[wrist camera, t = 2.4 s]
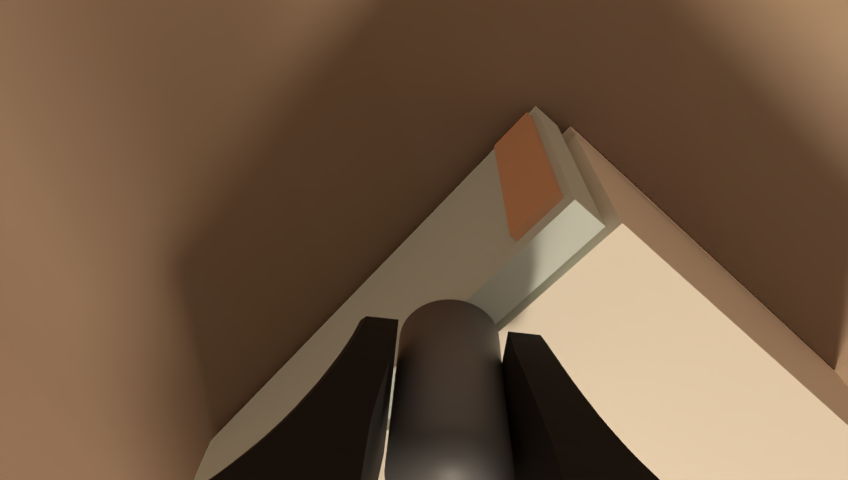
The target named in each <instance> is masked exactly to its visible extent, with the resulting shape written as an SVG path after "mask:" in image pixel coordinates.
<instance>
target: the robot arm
mask: <svg viewBox="0 0 848 480" xmlns="http://www.w3.org/2000/svg"><path fill="white" fill-rule="evenodd" d="M398 321H399V320H398V319H389V318H380V317H370V316H366V317H364V318H363V319H361V320H360V321H359V323H358V326H357V328H356V329H355V331H354V333H353V335H352V336H351V338H350V339H349V341H348V342H347V344H346V345H345V347H344V348H343V350H342V351H341V353H340V354H339V355H338V357H337V358H336V359H335V361H334V362H333V363H332V365H331V366H330V367H329V368H328V370H327V371H326V372H325V374H324V375H323V376H322V377H321V379H320V380H319V381H318V382H317V383H316V385H315V386H314V387H313V388H312V389H311V390H310V391H309V392H308V393H307V394H306V396H305V397H304V398H303V399H302V400H301V401H300V402H299V403H298V404H297V405H296V407H295V408H294V409H293V410H292V411H291V412H290V413H289V414H288V415H287V416H286V417H285V418H284V419H283V420H282V421H281V422H279V423H278V424H277V425H276V426H275V427H274V428H273V429H272V430H271V431H270V432H269V433H267V434H266V435H265V436H264V437H263V438H262V439H261V440H260V441H258V442H257V443H256V444H255V445H254V446H252V447H251V448H250V449H249V450H247V451H246V452H245V453H244V454H242V455H241V456H240V457H239V458H237V459H236V460H235V461H234V462H232V463H231V464H230V465H228V466H227V467H226V468H224V469H223V470H222V471H220V472H219V473H217V474H216V475H215V476H213V477H212V478H210V479H209V480H378V478H379V473H380V469H381V464H382V460H383V455H384V448H385V440H386V431H387V423H388V414H389V405H390V396H391V387H392V377H393V368H394V359H395V349H396V340H397V331H398ZM502 368H503V376H504V385H505V394H506V403H507V411H508V420H509V429H510V438H511V446H512V455H513V464H514V473H515V474H514V480H660V479H659V478H658V477H657V476H656V475H654V474H653V473H652V472H651V471H650V470H649V469H648V468H647V467H646V466H645V465H644V464H643V463H642V462H641V461H640V460H639V459H638V458H637V457H636V456H635V455H634V454H633V453H632V452H631V451H630V450H629V449H628V448H627V447H626V445H625V444H624V443H623V442H622V441H621V440H620V439H619V438H618V436H617V435H616V434H615V433H614V432H613V431H612V430H611V429H610V427H609V426H608V425H607V424H606V423H605V422H604V420H603V419H602V418H601V417H600V416H599V414H598V413H597V412H596V410H595V409H594V408H593V407H592V405H591V404H590V403H589V401H588V400H587V399H586V398H585V396H584V395H583V394H582V392H581V391H580V390H579V388H578V387H577V386H576V384H575V383H574V382H573V380H572V379H571V377H570V376H569V375H568V373H567V372H566V370H565V369H564V368H563V366H562V365H561V363H560V362H559V360H558V359H557V357H556V356H555V355H554V353H553V352H552V350H551V349H550V347H549V346H548V344H547V343H546V342H545V340H544V339H543V338H542V336H541V335H536V334H527V333H518V332H509V331H508V335H507V340H506V345H505V350H504V355H503V360H502Z"/></svg>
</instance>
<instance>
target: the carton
mask: <svg viewBox="0 0 848 480" xmlns="http://www.w3.org/2000/svg"><path fill="white" fill-rule="evenodd" d="M562 136H563V138H564V141H565V143H566V145H567V147H568V149H569V151H570V153H571V155H572V157H573V159H574V161H575V164H576V166H577V168H578V170H579V172H580V174H581V176H582V178H583V180H584V182H585V184H586V187H587V189H588V191H589V193H590V195H591V197H592V199H593V201H594V203H595V205H596V207H597V210H598V212H599V214H600V216H601V218H602V220H603V222H604V224H605V227H604V228H603V229H602V230H601V231H600V232H599V233H598V234H597V235H595V236H594V237H593V238H592V239H591V240H590V241H589V242H588V243H586V244H585V245H584V246H583V247H582V248H581V249H580V250H579V251H577V252H576V253H575V254H574V255H573V256H572V257H571V258H570V259H569V260H567V261H566V262H565V263H564V264H563V265H562V266H561V267H560V268H558V269H557V270H556V271H555V272H554V273H553V274H552V275H551V276H549V277H548V278H547V279H546V280H545V281H544V282H543V283H542V284H541V285H539V286H538V287H537V288H536V289H535V290H534V291H533V292H532V293H530V294H529V295H528V296H527V297H526V298H525V299H524V300H523V301H521V302H520V303H519V304H518V305H517V306H516V307H515V308H514V309H512V310H511V311H510V312H509V313H508V314H507V315H506V316H505V317H504V318H502V319H501V320H500V321H499V322H498V323H497V324H496V327H497V330H498V333H499V341H500V350H501V359H502V360H503V355H504V350H505V345H506V340H507V335H508V331H509V332H518V333H527V334H536V335H541V336H542V338H543V339H544V340H545V342H546V343H547V344H548V346H549V347H550V349H551V350H552V352H553V353H554V355H555V356H556V357H557V359H558V360H559V362H560V363H561V365H562V366H563V368H564V369H565V370H566V372H567V373H568V375H569V376H570V377H571V379H572V380H573V382H574V383H575V384H576V386H577V387H578V388H579V390H580V391H581V392H582V394H583V395H584V396H585V398H586V399H587V400H588V401H589V403H590V404H591V405H592V407H593V408H594V409H595V410H596V412H597V413H598V414H599V416H600V417H601V418H602V419H603V420H604V422H605V423H606V424H607V425H608V426H609V427H610V429H611V430H612V431H613V432H614V433H615V434H616V435H617V436H618V438H619V439H620V440H621V441H622V442H623V443H624V444H625V445H626V447H627V448H628V449H629V450H630V451H631V452H632V453H633V454H634V455H635V456H636V457H637V458H638V459H639V460H640V461H641V462H642V463H643V464H644V465H645V466H646V467H647V468H648V469H649V470H650V471H651V472H652V473H653V474H654V475H656V476H657V477H658V478H659V479H660V480H848V386H847V385H846V384H845V383H844V382H843V380H842V379H841V378H840V377H839V375H838V374H837V373H836V372H835V371H834V370H833V369H832V368H831V367H830V366H829V365H828V364H827V363H826V362H824V361H823V360H822V359H821V358H820V357H819V356H818V355H817V354H816V353H815V352H814V351H813V350H812V349H810V348H809V347H808V346H807V345H806V344H805V343H804V342H803V341H802V340H801V339H800V338H799V337H798V336H796V335H795V334H794V333H793V332H792V331H791V330H790V329H789V328H788V327H787V326H786V325H785V324H783V323H782V322H781V321H780V320H779V319H778V318H777V317H776V316H775V315H774V314H773V313H772V312H771V311H769V310H768V309H767V308H766V307H765V306H764V305H763V304H762V303H761V302H760V301H759V300H758V299H757V298H755V297H754V296H753V295H752V294H751V293H750V292H749V291H748V290H747V289H746V288H745V287H744V286H743V285H741V284H740V283H739V282H738V281H737V280H736V279H735V278H734V277H733V276H732V275H731V274H730V273H728V272H727V271H726V270H725V269H724V268H723V267H722V266H721V265H720V264H719V263H718V262H717V261H716V260H714V259H713V258H712V257H711V256H710V255H709V254H708V253H707V252H706V251H705V250H704V249H703V248H702V247H700V246H699V245H698V244H697V243H696V242H695V241H694V240H693V239H692V238H691V237H690V236H689V235H688V234H686V233H685V232H684V231H683V230H682V229H681V228H680V227H679V226H678V225H677V224H676V223H675V222H673V221H672V220H671V219H670V218H669V217H668V216H667V215H666V214H665V213H664V212H663V211H662V210H661V209H659V208H658V207H657V206H656V205H655V204H654V203H653V202H652V201H651V200H650V199H649V198H648V197H647V196H645V195H644V194H643V193H642V192H641V191H640V190H639V189H638V188H637V187H636V186H635V185H634V184H633V183H631V182H630V181H629V180H628V179H627V178H626V177H625V176H624V175H623V174H622V173H621V172H620V171H618V170H617V169H616V168H615V167H614V166H613V165H612V164H611V163H610V162H609V161H608V160H607V159H606V158H604V157H603V156H602V155H601V154H600V153H599V152H598V151H597V150H596V149H595V148H594V147H593V146H592V145H590V144H589V143H588V142H587V141H586V140H585V139H584V138H583V137H582V136H581V135H580V134H579V133H578V132H576V131H575V130H574V129H573V128H572V127H571V126H570V127H569V128H568V129H567V130H566V131H565V132H564V133H563V134H562ZM389 425H390V419H389V420H388V423H387V431H386V440H385V448H384V455H383V460H382V464H381V469H380V473H379V478H378V480H385V475H384V469H385V460H386V452H387V443H388V434H389Z"/></svg>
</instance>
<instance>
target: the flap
mask: <svg viewBox="0 0 848 480" xmlns="http://www.w3.org/2000/svg"><path fill="white" fill-rule="evenodd" d="M604 227H605V224H604V222H603V220H602V218H601V216H600V214H599V212H598V210H597V207H596V205H595V203H594V201H593V199H592V197H591V195H590V193H589V191H588V189H587V187H586V184H585V182H584V180H583V178H582V176H581V174H580V172H579V170H578V168H577V166H576V164H575V161H574V159H573V157H572V155H571V153H570V151H569V149H568V147H567V145H566V143H565V141H564V138H563V136H562V134H561V132H560V130H559V128H558V126H557V125H556V124H555V123H554V122H553V121H552V120H551V119H550V118H548V117H547V116H546V115H545V114H544V113H543V112H542V111H541V110H540V109H539V108H538V107H536V106H535V107H534V108H533V109H532V110H531V111H530V112H529V113H527V112H526V113H525V114H524V115H523V116H522V117H521V118H520V119H519V120H518V121H517V122H516V124H515V125H514V126H513V127H512V128H511V129H510V130H509V131H508V132H507V133H506V134H505V135H504V136H503V137H502V138H501V139H500V140H499V141H498V142H497V143H496V144H495V145H494V149H493V150H492V151H491V152H490V153H489V154H488V156H487V157H486V158H485V159H484V160H483V161H482V162H481V163H480V164H479V165H478V166H477V167H476V168H475V169H474V170H473V171H472V172H471V173H470V174H469V175H468V176H467V177H466V178H465V179H464V180H463V181H462V182H461V183H460V184H459V185H458V186H457V187H456V188H455V189H454V191H453V192H452V193H451V194H450V195H449V196H448V197H447V198H446V199H445V200H444V201H443V202H442V203H441V204H440V205H439V206H438V207H437V208H436V209H435V210H434V211H433V212H432V213H431V214H430V215H429V216H428V217H427V218H426V219H425V220H424V221H423V222H422V223H421V225H420V226H419V227H418V228H417V229H416V230H415V231H414V232H413V233H412V234H411V235H410V236H409V237H408V238H407V239H406V240H405V241H404V242H403V243H402V244H401V245H400V246H399V247H398V248H397V249H396V250H395V251H394V252H393V253H392V254H391V255H390V256H389V257H388V259H387V260H386V261H385V262H384V263H383V264H382V265H381V266H380V267H379V268H378V269H377V270H376V271H375V272H374V273H373V274H372V275H371V276H370V277H369V278H368V279H367V280H366V281H365V282H364V283H363V284H362V285H361V286H360V287H359V288H358V289H357V290H356V291H355V293H354V294H353V295H352V296H351V297H350V298H349V299H348V300H347V301H346V302H345V303H344V304H343V305H342V306H341V307H340V308H339V309H338V310H337V311H336V312H335V313H334V314H333V315H332V316H331V317H330V318H329V319H328V320H327V321H326V322H325V323H324V324H323V325H322V327H321V328H320V329H319V330H318V331H317V332H316V333H315V334H314V335H313V336H312V337H311V338H310V339H309V340H308V341H307V342H306V343H305V344H304V345H303V346H302V347H301V348H300V349H299V350H298V351H297V352H296V353H295V354H294V355H293V356H292V357H291V358H290V359H289V360H288V362H287V363H286V364H285V365H284V366H283V367H282V368H281V369H280V370H279V371H278V372H277V373H276V374H275V375H274V376H273V377H272V378H271V379H270V380H269V381H268V382H267V383H266V384H265V385H264V386H263V387H262V388H261V389H260V390H259V391H258V392H257V393H256V394H255V396H254V397H253V398H252V399H251V400H250V401H249V402H248V403H247V404H246V405H245V406H244V407H243V408H242V409H241V410H240V411H239V412H238V413H237V414H236V415H235V416H234V417H233V418H232V419H231V420H230V421H229V422H228V423H227V424H226V425H225V426H224V427H223V428H222V430H221V431H220V432H219V433H218V434H217V435H216V436H215V437H214V438H213V439H212V440H211V441H210V443H209V446H208V448H207V450H206V452H205V455H204V457H203V459H202V461H201V464H200V466H199V468H198V470H197V473H196V475H195V477H194V480H209V479H210V478H212V477H213V476H215V475H216V474H217V473H219V472H220V471H222V470H223V469H224V468H226V467H227V466H228V465H230V464H231V463H232V462H234V461H235V460H236V459H237V458H239V457H240V456H241V455H242V454H244V453H245V452H246V451H247V450H249V449H250V448H251V447H252V446H254V445H255V444H256V443H257V442H258V441H260V440H261V439H262V438H263V437H264V436H265V435H266V434H267V433H269V432H270V431H271V430H272V429H273V428H274V427H275V426H276V425H277V424H278V423H279V422H281V421H282V420H283V419H284V418H285V417H286V416H287V415H288V414H289V413H290V412H291V411H292V410H293V409H294V408H295V407H296V405H297V404H298V403H299V402H300V401H301V400H302V399H303V398H304V397H305V396H306V394H307V393H308V392H309V391H310V390H311V389H312V388H313V387H314V386H315V385H316V383H317V382H318V381H319V380H320V379H321V377H322V376H323V375H324V374H325V372H326V371H327V370H328V368H329V367H330V366H331V365H332V363H333V362H334V361H335V359H336V358H337V357H338V355H339V354H340V353H341V351H342V350H343V348H344V347H345V345H346V344H347V342H348V341H349V339H350V338H351V336H352V335H353V333H354V331H355V329H356V328H357V326H358V323H359V321H360V320H361V319H363V318H364V317H366V316H370V317H380V318H389V319H398V320H399V321H398V331H397V340H396V349H395V359H394V368H393V377H392V387H391V396H390V405H389V414H388V420H389V419H390V425H389V434H388V443H387V452H386V460H385V469H384V475H385V480H514V474H515V473H514V464H513V455H512V446H511V438H510V429H509V420H508V411H507V403H506V394H505V385H504V376H503V368H502V359H501V350H500V341H499V333H498V330H497V327H496V324H497V323H498V322H499V321H500V320H501V319H502V318H504V317H505V316H506V315H507V314H508V313H509V312H510V311H511V310H512V309H514V308H515V307H516V306H517V305H518V304H519V303H520V302H521V301H523V300H524V299H525V298H526V297H527V296H528V295H529V294H530V293H532V292H533V291H534V290H535V289H536V288H537V287H538V286H539V285H541V284H542V283H543V282H544V281H545V280H546V279H547V278H548V277H549V276H551V275H552V274H553V273H554V272H555V271H556V270H557V269H558V268H560V267H561V266H562V265H563V264H564V263H565V262H566V261H567V260H569V259H570V258H571V257H572V256H573V255H574V254H575V253H576V252H577V251H579V250H580V249H581V248H582V247H583V246H584V245H585V244H586V243H588V242H589V241H590V240H591V239H592V238H593V237H594V236H595V235H597V234H598V233H599V232H600V231H601V230H602V229H603V228H604Z"/></svg>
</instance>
